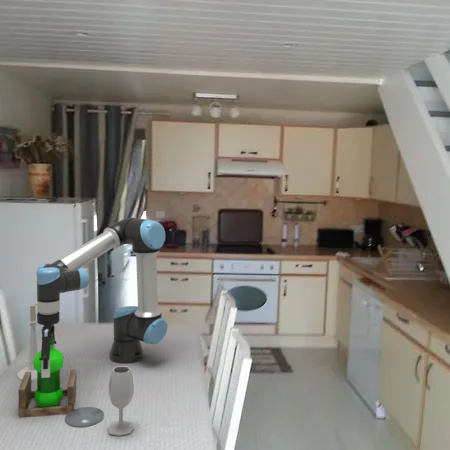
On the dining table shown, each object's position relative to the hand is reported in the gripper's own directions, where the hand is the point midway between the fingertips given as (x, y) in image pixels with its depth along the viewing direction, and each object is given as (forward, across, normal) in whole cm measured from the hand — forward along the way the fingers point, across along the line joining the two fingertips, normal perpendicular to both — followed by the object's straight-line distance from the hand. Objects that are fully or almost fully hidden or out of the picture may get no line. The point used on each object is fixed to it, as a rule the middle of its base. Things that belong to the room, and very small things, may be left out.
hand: (48, 369), depth 178 cm
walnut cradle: (+14, 0, 0) cm, 14 cm away
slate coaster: (+14, +11, +13) cm, 22 cm away
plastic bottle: (+14, 0, 0) cm, 14 cm away
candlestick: (+14, -28, -9) cm, 33 cm away
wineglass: (+14, +21, +25) cm, 36 cm away
